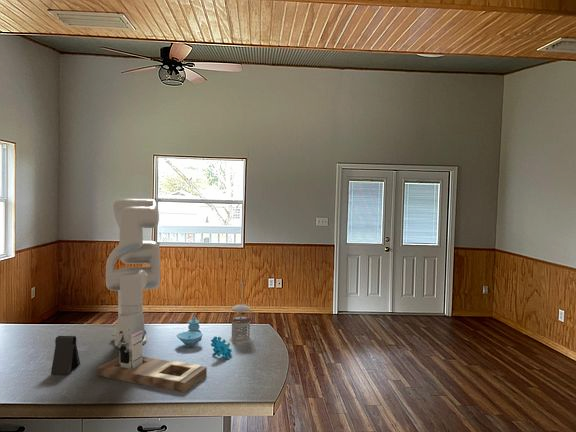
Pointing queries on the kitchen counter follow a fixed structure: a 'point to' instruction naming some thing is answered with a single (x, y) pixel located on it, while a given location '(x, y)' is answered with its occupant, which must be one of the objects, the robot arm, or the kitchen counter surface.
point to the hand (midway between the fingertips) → (131, 359)
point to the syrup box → (134, 351)
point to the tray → (156, 373)
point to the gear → (221, 348)
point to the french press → (241, 324)
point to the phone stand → (65, 355)
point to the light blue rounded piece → (191, 333)
